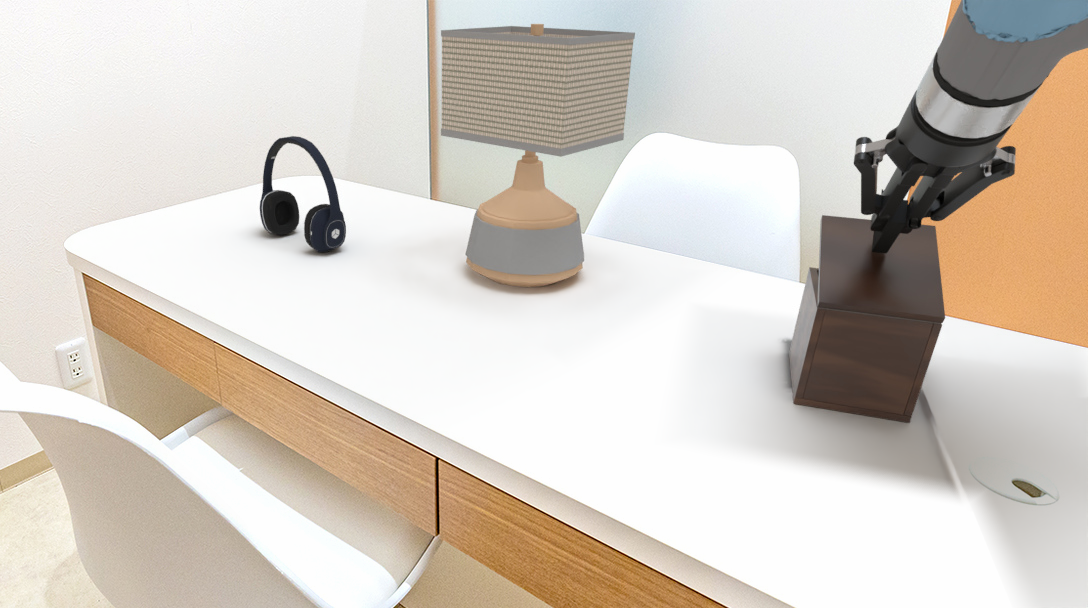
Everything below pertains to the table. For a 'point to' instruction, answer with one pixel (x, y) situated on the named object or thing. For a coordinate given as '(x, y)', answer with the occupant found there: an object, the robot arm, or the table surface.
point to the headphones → (282, 208)
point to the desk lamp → (532, 134)
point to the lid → (879, 271)
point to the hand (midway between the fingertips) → (880, 241)
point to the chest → (858, 359)
